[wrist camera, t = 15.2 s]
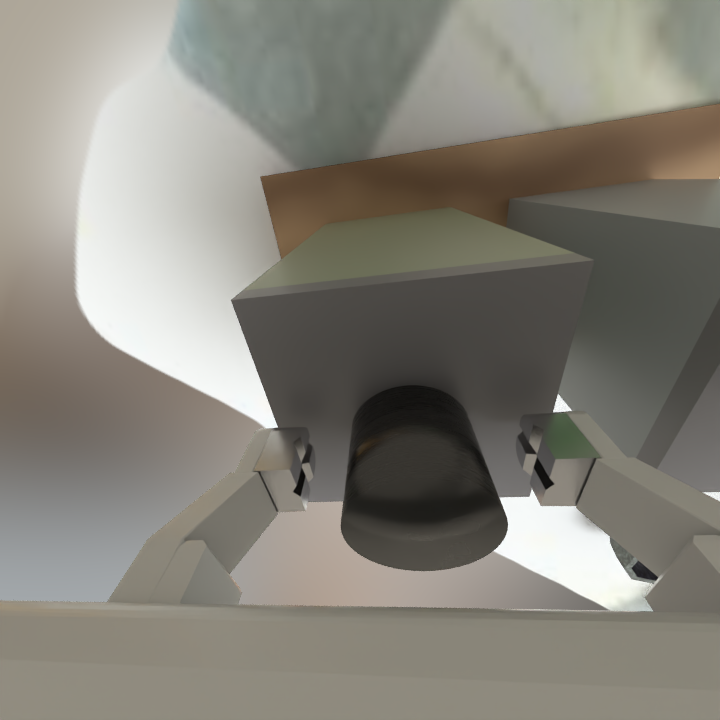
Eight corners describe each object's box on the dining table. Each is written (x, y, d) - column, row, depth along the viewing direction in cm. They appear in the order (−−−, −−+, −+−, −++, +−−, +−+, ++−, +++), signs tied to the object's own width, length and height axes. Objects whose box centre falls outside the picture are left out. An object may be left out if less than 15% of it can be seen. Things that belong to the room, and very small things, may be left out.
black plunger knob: (336, 236, 21) (197, 415, 5) (441, 222, 20) (681, 385, 4) (351, 328, 25) (298, 601, 9) (439, 320, 24) (562, 604, 8)
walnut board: (267, 177, 22) (260, 176, 20) (726, 104, 18) (753, 98, 17) (312, 360, 30) (309, 368, 29) (635, 334, 26) (648, 341, 25)
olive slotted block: (325, 223, 22) (231, 300, 8) (450, 206, 21) (594, 260, 7) (344, 332, 26) (305, 502, 12) (447, 323, 25) (529, 496, 11)
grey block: (509, 198, 20) (793, 237, 6) (653, 179, 19) (1369, 175, 5) (495, 318, 25) (642, 493, 11) (610, 308, 24) (934, 486, 10)
